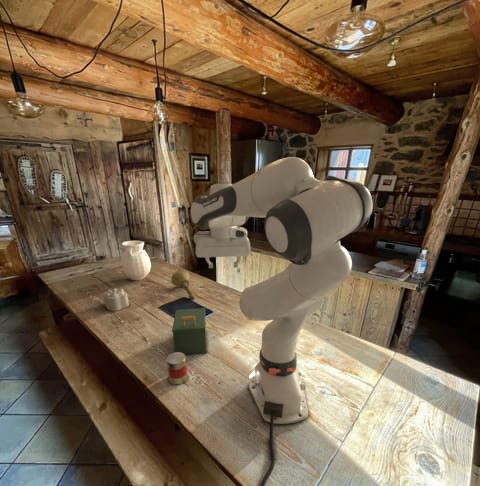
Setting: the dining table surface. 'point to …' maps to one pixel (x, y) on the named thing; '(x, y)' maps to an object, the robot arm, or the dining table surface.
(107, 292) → the lumpy-topped squat cylinder
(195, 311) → the lid
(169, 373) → the can
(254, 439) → the dining table surface
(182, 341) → the chest
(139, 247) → the pitcher
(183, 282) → the handbell
